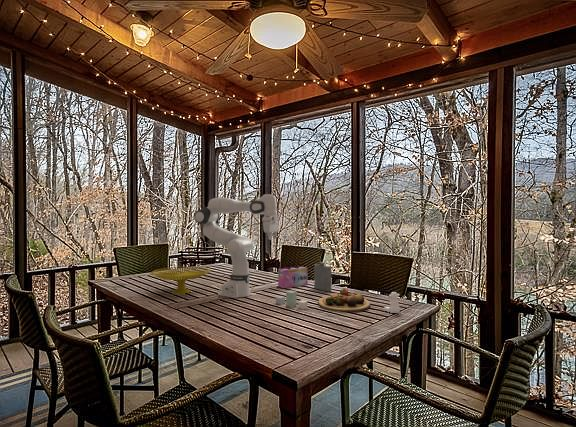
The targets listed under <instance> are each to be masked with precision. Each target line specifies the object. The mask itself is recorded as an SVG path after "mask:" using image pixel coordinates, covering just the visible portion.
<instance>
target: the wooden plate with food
mask: <svg viewBox="0 0 576 427" xmlns="http://www.w3.org/2000/svg"><path fill="white" fill-rule="evenodd" d="M317 304H318V306H319V307H320V308H322V309H325V310H327V311H332V312H339V313H357V312H358V311H359V312H362V311H363V310H364V311H367V310H368V309H369V308H370V306H371V303H370V301H369V300H368V299H366V298H365V297H364V295H363V294H362V293H356V295H355V294H354V293H349V290H348V288H342V289H340V291H339V293H337V292H335V293H332V294H331V295H326V296H323V297H321V298H320V299H319V300H318V301H317Z"/></svg>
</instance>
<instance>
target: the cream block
mask: <svg viewBox="0 0 576 427" xmlns="http://www.w3.org/2000/svg"><path fill="white" fill-rule="evenodd" d="M308 303H309V301H308V300H303V299H301V300H299V301H298V303H297V308H298V309H302V310H306V309H308Z"/></svg>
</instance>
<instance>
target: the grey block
mask: <svg viewBox="0 0 576 427" xmlns="http://www.w3.org/2000/svg"><path fill="white" fill-rule="evenodd" d="M275 304H277V305H284V304H286V296H283V295H278V296H275Z"/></svg>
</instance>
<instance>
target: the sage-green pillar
mask: <svg viewBox="0 0 576 427" xmlns="http://www.w3.org/2000/svg"><path fill="white" fill-rule="evenodd" d="M297 293H298V292H297V291H296V290H288V291H286V292H285V294H286V295H285V304H286V305H285V306H287V307H291V308H293V307H296V306H297V304H298V303H297V295H298V294H297Z"/></svg>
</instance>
